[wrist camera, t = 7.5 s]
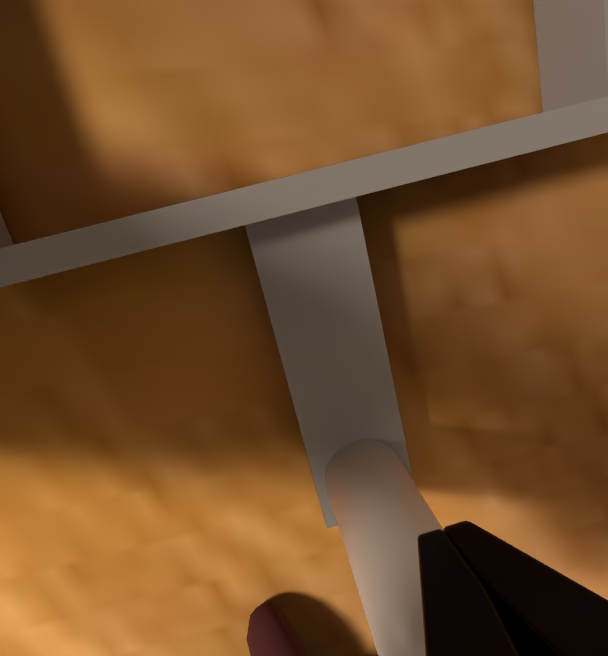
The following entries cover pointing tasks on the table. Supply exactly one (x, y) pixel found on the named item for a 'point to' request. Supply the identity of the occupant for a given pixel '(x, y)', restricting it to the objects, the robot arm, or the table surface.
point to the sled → (354, 303)
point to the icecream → (272, 633)
